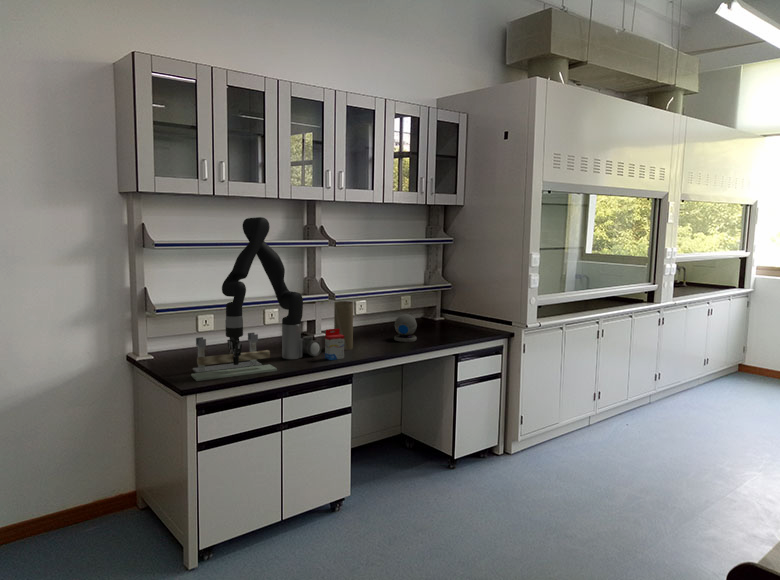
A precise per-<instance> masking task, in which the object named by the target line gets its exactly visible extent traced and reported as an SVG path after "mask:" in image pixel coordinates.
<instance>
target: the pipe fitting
mask: <svg viewBox="0 0 780 580" xmlns="http://www.w3.org/2000/svg"><path fill="white" fill-rule="evenodd" d="M321 344H322V343H321V342H320V341H319V340H314V335H311V334H310V335H305V336H303V337H302V355H309V356H311V357H318V356H319V355H320V354H321V352H322V345H321Z"/></svg>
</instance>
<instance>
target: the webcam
mask: <svg viewBox="0 0 780 580" xmlns="http://www.w3.org/2000/svg"><path fill="white" fill-rule="evenodd" d="M417 327H418V323H417V320H416V318H415V317H414V316H412V315H411V314H408V313H404V314H400V315H399V316H398V317H397V318H396V319H395V321H394V329H395V331H396V333H397V334H396V335H394V338H393V339H394V341H398V342H404V343H405V342H406V343H409V342H415V341H417V336H416V335H413V334H414V333H415V332H416V331H417Z"/></svg>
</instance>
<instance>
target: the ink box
mask: <svg viewBox="0 0 780 580" xmlns="http://www.w3.org/2000/svg"><path fill="white" fill-rule="evenodd" d="M334 331H335V332H334ZM339 332H340V329H339V328H338V329H334V328H329V329H325V335H324V359H325V360H328V361H335V360H343V359H344V358H345V350H344V335H341V334H339Z"/></svg>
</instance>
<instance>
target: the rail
mask: <svg viewBox="0 0 780 580" xmlns="http://www.w3.org/2000/svg"><path fill="white" fill-rule="evenodd" d="M270 358H271V351H270V350H269V349H266V350H258V351H257V350H256V351H254V352H250V351H246V352H245V351H244V352H241V355H240V356H239V362H247V361H250V360H255V359H256V360H262V359H270ZM231 362H233V354H230V353H226V354H225V353H224V354H217V355H209V356H205V357H198V356H197V357H196V365H197V366H198V365H199V366H200V365H205V366H210V365H215V364H216V365H217V364H218V365H219V364H228V363H231Z"/></svg>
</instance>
